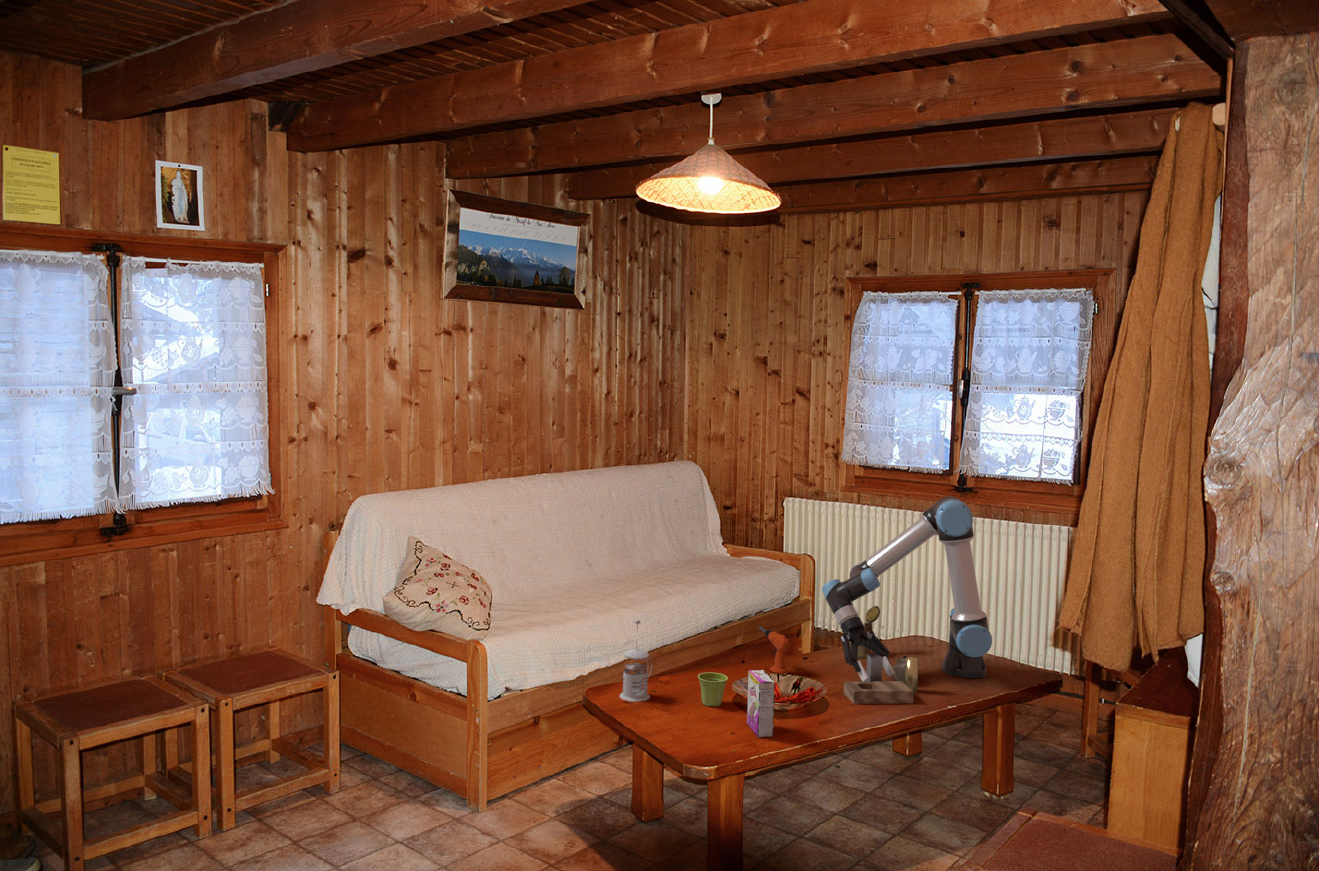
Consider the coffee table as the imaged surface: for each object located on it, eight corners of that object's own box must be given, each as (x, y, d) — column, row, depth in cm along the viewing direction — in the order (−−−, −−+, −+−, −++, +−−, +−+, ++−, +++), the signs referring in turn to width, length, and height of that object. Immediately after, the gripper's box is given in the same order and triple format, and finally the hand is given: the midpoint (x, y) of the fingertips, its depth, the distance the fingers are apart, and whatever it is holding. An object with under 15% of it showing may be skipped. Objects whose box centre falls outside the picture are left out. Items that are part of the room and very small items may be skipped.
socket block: (901, 692, 321) (902, 681, 321) (913, 703, 311) (913, 690, 311) (843, 693, 319) (844, 681, 318) (853, 703, 309) (854, 691, 308)
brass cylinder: (914, 688, 326) (915, 656, 325) (918, 692, 322) (920, 660, 321) (902, 688, 325) (904, 656, 325) (907, 692, 321) (908, 660, 321)
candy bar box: (745, 723, 287) (747, 669, 286) (761, 723, 288) (763, 669, 287) (757, 737, 276) (759, 681, 275) (773, 737, 277) (776, 681, 276)
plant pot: (710, 696, 310) (711, 670, 310) (732, 704, 304) (733, 677, 303) (690, 702, 304) (691, 675, 303) (712, 711, 297) (713, 683, 297)
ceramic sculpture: (889, 658, 330) (889, 649, 344) (887, 683, 330) (888, 673, 345) (921, 662, 327) (920, 652, 342) (919, 687, 327) (918, 677, 342)
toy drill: (761, 656, 352) (765, 619, 349) (790, 677, 336) (795, 638, 334) (750, 658, 350) (755, 620, 347) (779, 678, 334) (784, 639, 332)
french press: (613, 695, 308) (615, 618, 306) (638, 687, 316) (641, 613, 315) (635, 703, 301) (637, 625, 300) (660, 695, 310) (663, 619, 308)
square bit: (877, 686, 327) (878, 654, 327) (881, 690, 323) (882, 657, 323) (865, 686, 327) (867, 654, 326) (869, 690, 323) (871, 657, 322)
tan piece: (884, 654, 365) (887, 608, 364) (859, 659, 357) (861, 612, 356) (867, 648, 372) (869, 603, 371) (842, 653, 365) (844, 606, 364)
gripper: (868, 623, 343) (897, 678, 331) (817, 630, 331) (846, 687, 319) (880, 612, 338) (910, 667, 326) (829, 618, 326) (858, 676, 314)
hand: (878, 677), depth 322 cm, fingers open, 11 cm apart
